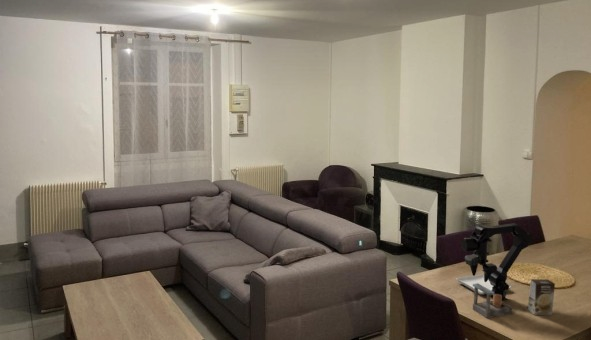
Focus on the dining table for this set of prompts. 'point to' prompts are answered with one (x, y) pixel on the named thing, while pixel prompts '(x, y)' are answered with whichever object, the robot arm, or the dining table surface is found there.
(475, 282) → the salad plate
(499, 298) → the peg
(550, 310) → the coffee box
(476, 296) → the socket block
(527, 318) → the dining table surface
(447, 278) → the dining table surface
